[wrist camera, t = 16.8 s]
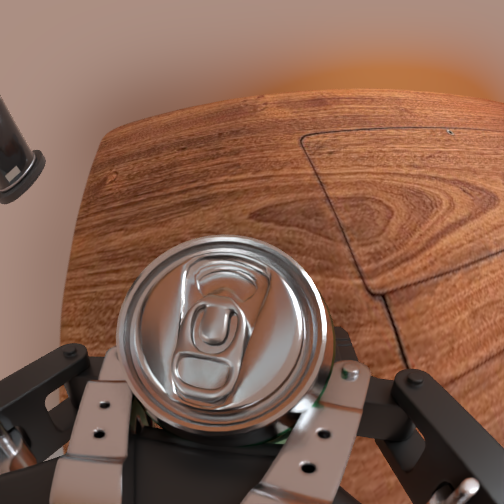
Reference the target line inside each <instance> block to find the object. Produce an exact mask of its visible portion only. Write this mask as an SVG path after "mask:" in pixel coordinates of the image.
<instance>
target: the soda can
mask: <svg viewBox="0 0 504 504" xmlns="http://www.w3.org/2000/svg"><path fill="white" fill-rule="evenodd" d="M116 345H117V354H118V359H119V363H120V367H121V369H122V372H123V375H124V377H125V380H126V382H127V383H128V385H129V387H130V388H131V390H132V392H133V393H134V396H135V398H136V399H137V401H138V403H139V404H140V406H141V407H142V409H143V410H144V411H145V412H146V413H147V415H148V416H149V417H150V418H151V419H152V420H153V421H154V422H155V423H156V424H158V425H159V426H160V427H161V428H163V429H164V430H165V431H167V432H168V433H171V434H173V435H175V436H177V437H180V438H182V439H185V440H188V441H191V442H195V443H198V444H204V445H210V446H216V447H246V446H256V445H261V444H264V443H267V442H270V441H272V440H275V439H276V438H278V437H280V436H282V435H284V434H285V433H287V432H289V431H290V430H292V429H293V428H294V426H295V424H296V423H297V421H298V419H299V417H300V415H301V414H302V412H303V411H305V410H307V409H308V408H310V407H312V406H313V405H315V404H317V403H318V402H319V400H320V398H321V397H322V395H323V393H324V392H325V390H326V388H327V385H328V382H329V380H330V377H331V374H332V371H333V366H334V360H335V352H336V338H335V331H334V325H333V321H332V318H331V315H330V312H329V309H328V306H327V304H326V303H325V301H324V299H323V297H322V295H321V293H320V292H319V291H318V289H317V288H316V287H315V285H314V283H313V282H312V280H311V278H310V277H309V276H308V274H307V273H306V272H305V271H304V269H303V268H302V267H301V266H300V265H299V264H298V263H297V262H296V261H295V260H294V259H293V258H291V257H290V256H289V255H287V254H286V253H284V252H283V251H281V250H280V249H278V248H276V247H274V246H272V245H270V244H268V243H266V242H263V241H260V240H257V239H254V238H250V237H245V236H239V235H213V236H205V237H201V238H196V239H193V240H190V241H187V242H184V243H182V244H179V245H177V246H175V247H173V248H172V249H170V250H168V251H166V252H165V253H163V254H162V255H160V256H159V257H158V258H156V259H155V260H154V261H153V262H151V263H150V264H149V265H148V266H147V267H146V268H145V269H144V270H143V271H142V272H141V274H140V275H139V276H138V277H137V279H136V280H135V281H134V283H133V284H132V286H131V288H130V289H129V291H128V293H127V295H126V297H125V299H124V302H123V304H122V306H121V310H120V314H119V317H118V322H117V331H116Z"/></svg>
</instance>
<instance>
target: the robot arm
mask: <svg viewBox="0 0 504 504" xmlns="http://www.w3.org/2000/svg"><path fill="white" fill-rule="evenodd" d="M35 162H36V156H35V154H34V153H33V152H32V150H31V149H30V147H29V145H28V144H27V142H26V140H25V138H24V137H23V135H22V133H21V132H20V130H19V128H18V126H17V125H16V123H15V121H14V120H13V118H12V116H11V114H10V112H9V110H8V108H7V107H6V105H5V103H4V101H3V99H2V97H1V95H0V192H1V193H5V192H8V191H10V190H11V189H13V188H14V187H16V186H17V185H18V184H19V183H20V182H21V181H22V180H23V179H24V178H25V177H26V176H27V175H28V174H29V172H30V171H31V169H32V168H33V166H34V164H35ZM334 331H335V338H336V352H335V360H334V366H333V371H332V374H331V377H330V380H329V382H328V385H327V388H326V390H325V392H324V393H323V395H322V397H321V398H320V400H319V402H318V403H317V404H315V405H313V406H312V407H310V408H308V409H307V410H305V411H303V412H302V414H301V415H300V417H299V419H298V421H297V423H296V424H295V426H294V428H293V430H292V432H291V433H290V435H289V437H288V438H287V440H286V442H285V444H272V443H264V444H261V445H256V446H246V447H216V446H210V445H204V444H198V443H195V442H191V441H188V440H185V439H182V438H180V437H177V436H175V435H173V434H171V433H168V432H167V431H165V430H164V429H159V428H155V422H154V421H153V420H152V419H151V418H150V417H149V416H148V415H147V413H146V412H145V411H144V410H143V409H142V407H141V406H140V404H139V403H138V401H137V399H136V398H135V396H134V393H133V392H132V390H131V388H130V387H129V385H128V383H127V382H126V380H125V377H124V375H123V372H122V369H121V367H120V363H119V359H118V354H117V345H116V346H114V347H112V348H110V349H109V350H108V351H107V352H106V355H105V357H89V356H88V352H87V349H86V347H85V346H84V345H81V344H77V343H72V344H66V345H63V346H61V347H59V348H57V349H56V350H54V351H52V352H50V353H48V354H46V355H45V356H43V357H41V358H39V359H38V360H36V361H34V362H32V363H31V364H29V365H27V366H25V367H24V368H22V369H20V370H18V371H17V372H15V373H13V374H11V375H9V376H8V377H6V378H4V379H2V380H1V381H0V504H361V503H360V502H359V501H358V500H356V499H355V498H354V497H353V496H351V495H350V494H349V493H348V492H347V491H345V490H344V489H343V488H342V487H341V486H339V485H340V482H341V480H342V477H343V474H344V471H345V468H346V465H347V463H348V460H349V457H350V454H351V450H352V447H353V444H354V441H355V438H356V436H362V437H368V438H374V439H375V442H376V444H377V445H378V447H379V449H380V450H381V452H382V454H383V455H384V457H385V458H386V460H387V462H388V463H389V465H390V467H391V468H392V470H393V472H394V473H395V475H396V476H397V478H398V480H399V481H400V483H401V485H402V486H403V488H404V490H405V491H406V493H407V494H408V496H409V498H410V499H411V501H412V503H413V504H504V448H503V447H502V446H501V445H500V444H499V443H498V442H497V441H496V440H495V439H494V438H493V437H492V436H491V435H490V434H489V433H488V432H487V431H486V430H485V429H484V428H483V427H482V426H481V425H480V424H479V423H478V422H477V421H476V420H475V419H474V418H473V417H472V416H471V415H470V414H469V413H468V412H467V411H466V410H465V409H464V408H463V407H462V406H461V405H460V404H459V403H458V402H457V401H456V400H455V399H454V398H453V397H452V396H451V395H450V394H449V393H448V392H447V391H446V390H445V389H444V388H443V387H442V386H441V385H440V384H439V383H438V382H437V381H436V380H434V379H433V378H432V377H431V376H430V375H429V374H428V373H426V372H424V371H421V370H418V369H405V370H402V371H400V372H398V373H397V374H396V376H395V379H394V380H386V379H380V378H376V377H373V376H371V371H370V369H369V368H368V367H367V366H366V365H364V364H363V363H361V362H359V361H358V359H357V356H356V353H355V351H354V348H353V346H352V343H351V340H350V338H349V335H348V332H346V331H345V330H344V329H343V328H341V327H334ZM63 384H64V386H65V389H66V391H67V394H68V396H69V397H68V398H67V399H66V400H64V401H63V402H61V403H60V404H59V405H57V406H56V407H54V408H53V409H52V410H50V411H49V412H48V411H47V409H46V407H45V399H46V397H47V396H48V395H49V394H50V393H51V392H53V391H54V390H56V389H57V388H59V387H60V386H62V385H63ZM416 427H417V428H418V430H419V431H420V432H421V433H422V435H423V436H424V439H425V441H424V439H423V438H422V437H421V435H420V434H419V433H418V432H417V430H416ZM69 440H70V442H69V446H68V450H67V452H66V454H65V455H62V456H59V457H57V458H54V459H51V460H48V461H44V460H46V459H47V458H48V457H49V456H50V455H52V454H53V453H54V452H56V451H57V450H58V449H59V448H61V447H62V446H63V445H64V444H66V443H67V442H68V441H69ZM43 461H44V462H43Z"/></svg>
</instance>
